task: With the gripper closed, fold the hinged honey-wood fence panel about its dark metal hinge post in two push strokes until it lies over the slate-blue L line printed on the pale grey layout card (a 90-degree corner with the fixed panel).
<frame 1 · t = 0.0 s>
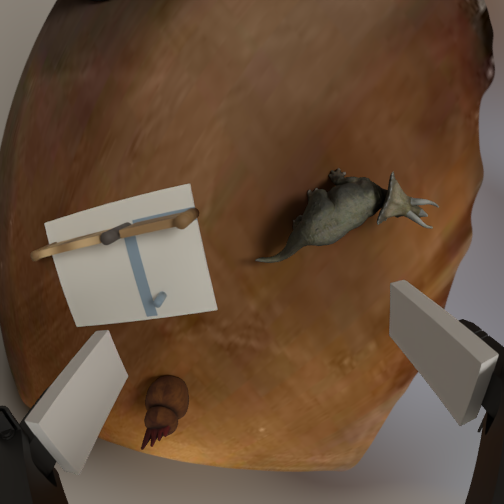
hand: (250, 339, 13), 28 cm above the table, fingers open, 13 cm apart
dinosaur figurine: (323, 205, 39), on the table
layout card: (122, 264, 41), on the table
fence fixed: (128, 227, 39), resting on layout card
wooden figurine: (172, 383, 46), on the table
fence panel: (72, 244, 36), point 4 cm above the table, hinge at 0.0°
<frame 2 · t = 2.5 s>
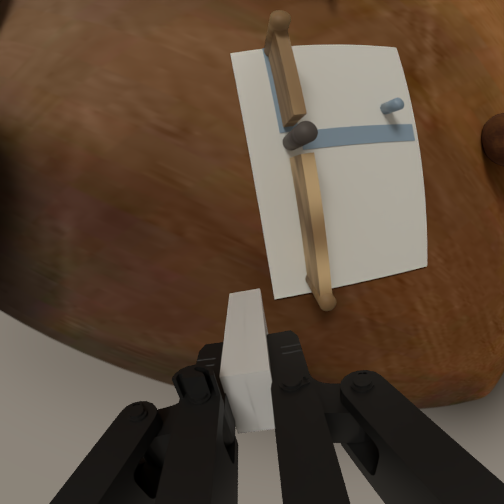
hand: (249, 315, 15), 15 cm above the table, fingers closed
layout card: (344, 161, 27), on the table
fence fixed: (290, 142, 27), resting on layout card
wooden figurine: (488, 141, 27), on the table
fence panel: (312, 229, 25), point 4 cm above the table, hinge at 0.0°
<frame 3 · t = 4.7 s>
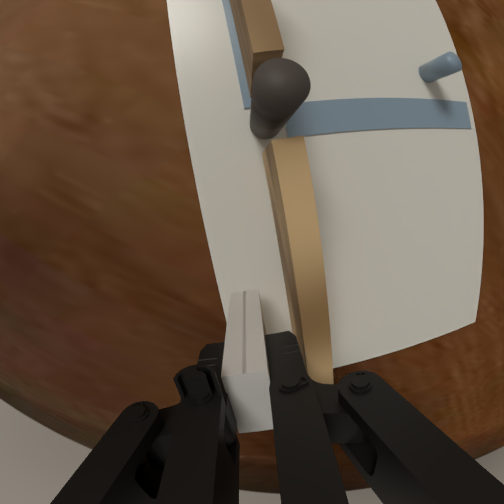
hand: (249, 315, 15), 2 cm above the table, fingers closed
layout card: (362, 159, 15), on the table
fence fixed: (264, 125, 14), resting on layout card
fence panel: (302, 294, 13), point 4 cm above the table, hinge at 0.3°, touching gripper
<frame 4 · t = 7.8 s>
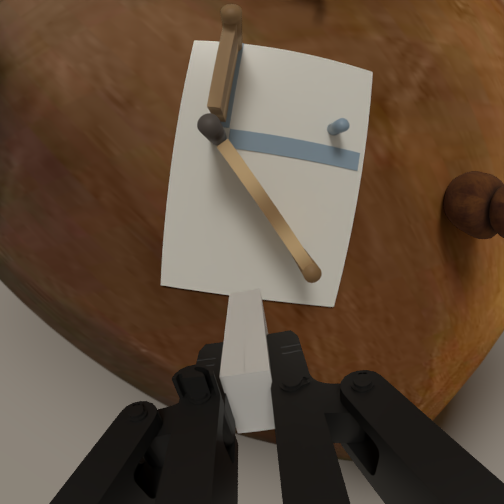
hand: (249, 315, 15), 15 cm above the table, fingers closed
layout card: (267, 170, 27), on the table
fence fixed: (218, 137, 26), resting on layout card
wooden figurine: (454, 199, 28), on the table
fence panel: (269, 209, 24), point 4 cm above the table, hinge at 43.0°
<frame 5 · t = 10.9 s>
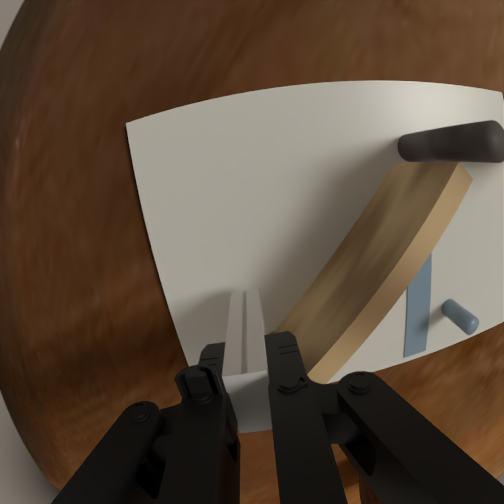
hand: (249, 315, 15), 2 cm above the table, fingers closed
layout card: (379, 239, 16), on the table
fence fixed: (406, 148, 15), resting on layout card
wooden figurine: (383, 456, 22), on the table
fence panel: (355, 283, 12), point 4 cm above the table, hinge at 45.7°, touching gripper
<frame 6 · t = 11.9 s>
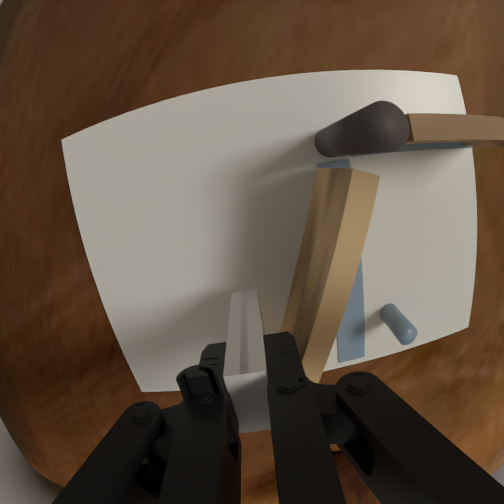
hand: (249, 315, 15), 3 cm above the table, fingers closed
layout card: (298, 240, 16), on the table
fence fixed: (327, 143, 15), resting on layout card
wooden figurine: (337, 459, 22), on the table
fence panel: (310, 309, 13), point 4 cm above the table, hinge at 68.9°, touching gripper
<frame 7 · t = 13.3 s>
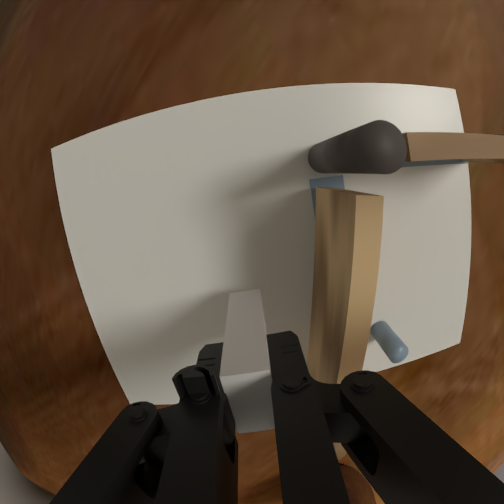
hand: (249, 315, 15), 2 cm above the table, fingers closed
layout card: (288, 257, 16), on the table
fence fixed: (321, 158, 15), resting on layout card
wooden figurine: (326, 472, 22), on the table
fence panel: (335, 331, 13), point 4 cm above the table, hinge at 81.2°
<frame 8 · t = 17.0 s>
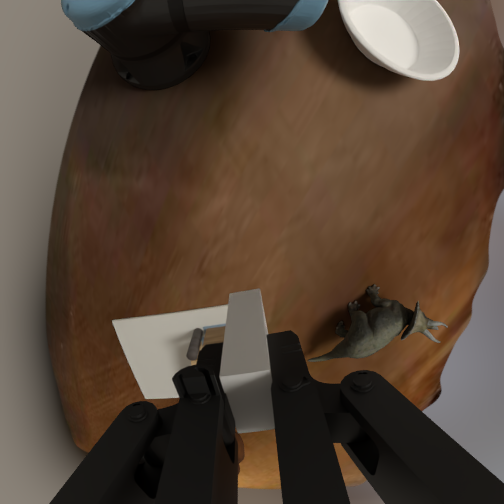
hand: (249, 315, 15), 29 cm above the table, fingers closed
dinosaur figurine: (359, 311, 48), on the table
layout card: (192, 357, 49), on the table
fence fixed: (198, 331, 47), resting on layout card
wooden figurine: (228, 434, 54), on the table
fence panel: (200, 381, 46), point 4 cm above the table, hinge at 81.2°
bowl: (383, 37, 36), on the table
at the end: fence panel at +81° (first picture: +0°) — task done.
